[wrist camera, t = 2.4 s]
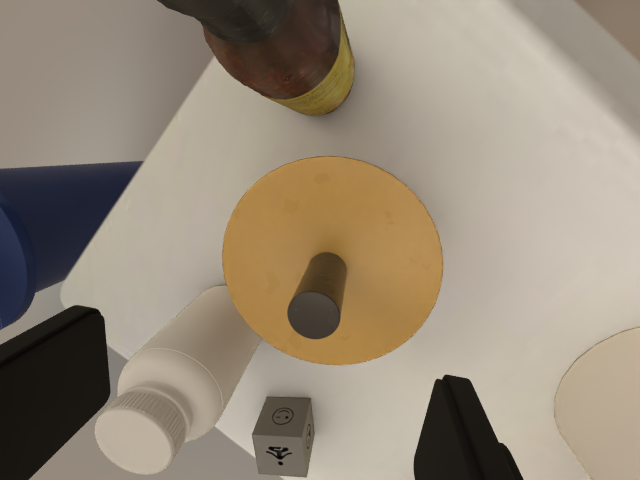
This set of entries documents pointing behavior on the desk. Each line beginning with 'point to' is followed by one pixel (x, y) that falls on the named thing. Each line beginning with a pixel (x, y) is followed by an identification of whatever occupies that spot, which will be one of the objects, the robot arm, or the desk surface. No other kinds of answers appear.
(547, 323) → the desk surface
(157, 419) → the pill bottle
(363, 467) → the desk surface
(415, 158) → the desk surface
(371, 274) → the tan wooden disc
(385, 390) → the desk surface
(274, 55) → the sauce bottle
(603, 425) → the cylinder
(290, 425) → the dice cube
